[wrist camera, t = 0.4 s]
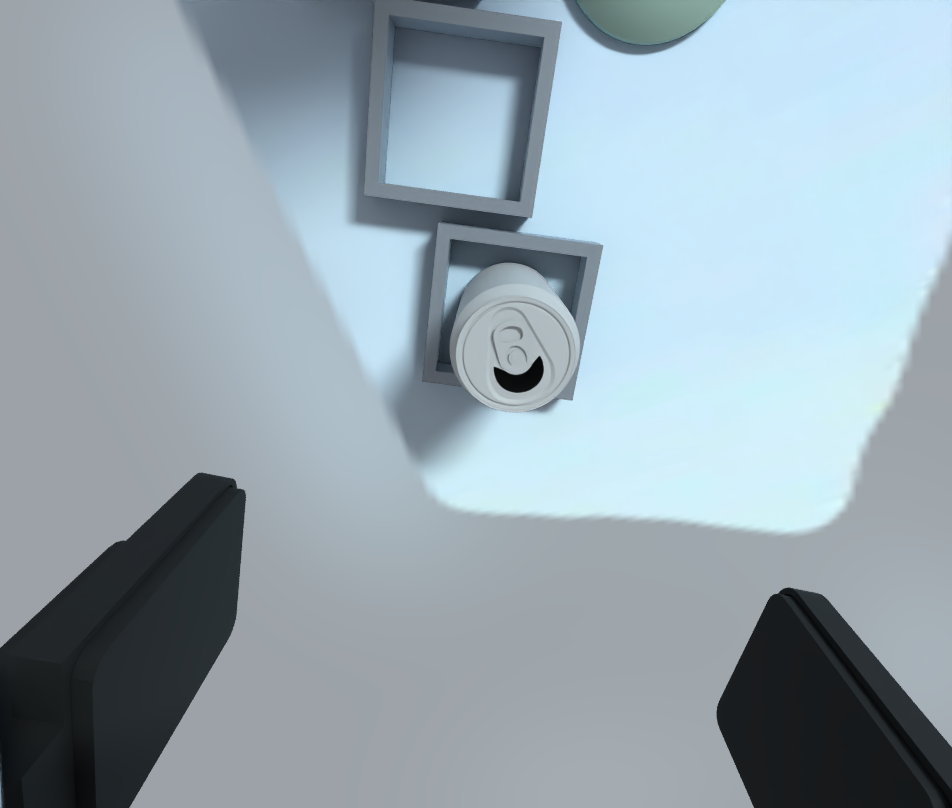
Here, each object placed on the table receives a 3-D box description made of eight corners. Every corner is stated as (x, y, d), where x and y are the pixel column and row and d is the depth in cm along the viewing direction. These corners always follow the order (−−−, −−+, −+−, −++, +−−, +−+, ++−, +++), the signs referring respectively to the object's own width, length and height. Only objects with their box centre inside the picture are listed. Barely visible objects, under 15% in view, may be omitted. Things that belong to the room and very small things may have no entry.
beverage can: (473, 365, 39) (467, 434, 28) (448, 274, 37) (431, 307, 25) (564, 343, 38) (595, 404, 27) (544, 249, 36) (569, 272, 25)
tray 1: (382, 8, 32) (374, -6, 30) (557, 33, 32) (561, 21, 30) (371, 195, 35) (363, 195, 33) (529, 216, 35) (531, 217, 33)
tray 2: (440, 221, 36) (438, 223, 34) (596, 242, 36) (603, 245, 34) (425, 371, 39) (422, 381, 37) (567, 389, 39) (572, 400, 37)
